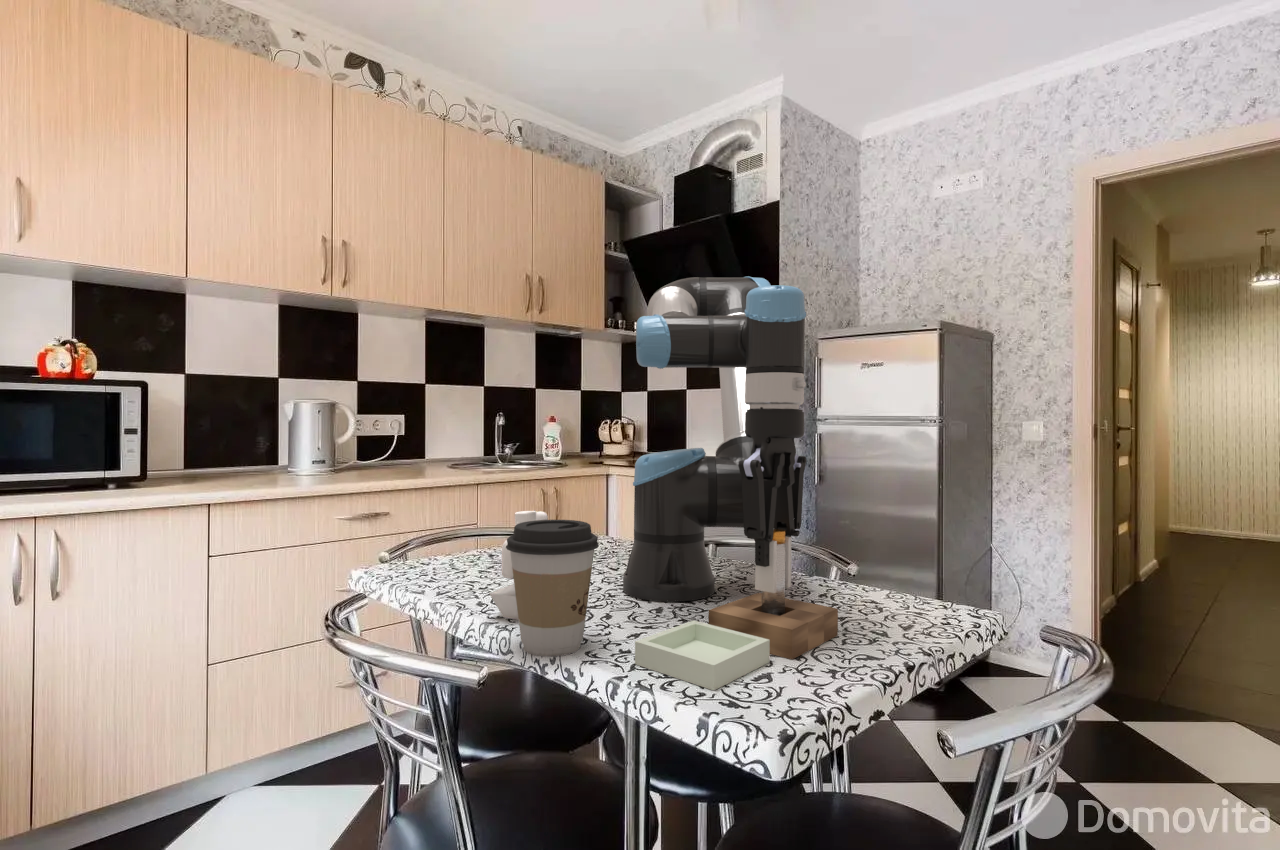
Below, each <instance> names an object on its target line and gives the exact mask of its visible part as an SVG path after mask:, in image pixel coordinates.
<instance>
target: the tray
mask: <svg viewBox="0 0 1280 850" xmlns="http://www.w3.org/2000/svg"><path fill="white" fill-rule="evenodd" d="M770 655H771V654H770V640H769V639H765V638H761V637H757V636H753V635H749V634H745V633H741V632H737V631H733V630H730V629H726V628H722V627H718V626H714V625H710V624H709V623H706V622H701V621H697V620H691V621H687V622H686V623H683V624H680V625H677V626H674V627H671V628H669V629H666V630H663V631H660V632H657V633H655V634H651V635H649V636H646V637H644V638H640V639H638V640H635V641H634V665H636V666H639V667H642V668H646V669H649V670H651V671H654V672H657V673H660V674H662V675H663V674H664V675H665V676H666V675H667V676H670V677H672V678H675V679H678V680H681V681H684V682H688V683H691V684H693V685H695V686H699V687H702V688H706V689H708V690H711V691H715V690H718V689H720V688H722V687H724V686H726V685H727V684H730V683H731V682H733V681H735V680H738V679H739V678H741V677H744V676H745V675H748V674H749V673H751V672H754V671H755V670H757V669H759V668H761V667H763V666H765V665H767V664H769V663H771V661H770V659H771V657H770Z"/></svg>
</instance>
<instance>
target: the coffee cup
mask: <svg viewBox="0 0 1280 850" xmlns="http://www.w3.org/2000/svg"><path fill="white" fill-rule="evenodd" d="M598 539H599V538H598V536H597V535H595V534H594V533H592V526H591V524H590V523H588V522H587V521H581V520H574V519H548V520H536V521H528V522H522V523H519V524H517V525H516V524H515V526H514V528H513V534H511V535H510V536H509V537H508V538H506V540H507V543H508V544H507V546H506V548H507V550H509V551H510V553H511V561H512V569H513V577H514V578H513V584H514V586H515V594H516V602H517V610H518V619H519V620H518V626H519V633H520V634H519V635H520V641H521V643H522V647H523V648H522V649H523V650H524V652H525V653H527V654H528V655H529V654H530V655H532V656H534V657H535V656H536V657H542V658H543V657H545V658H546V657H547V658H548V657H549V658H551V657H561V656H562V657H564V656H566V655H571V654H573V653H576V652H577V651H579V650H580V649H581V645H582V641H583V639H584V632H585V625H586V618H587V610H588V601H589V596H590V595H589V594H590V587H591V579H592V570H593V561H594V556H595V555H594V554H595V549H597V548H599V543H598Z"/></svg>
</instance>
